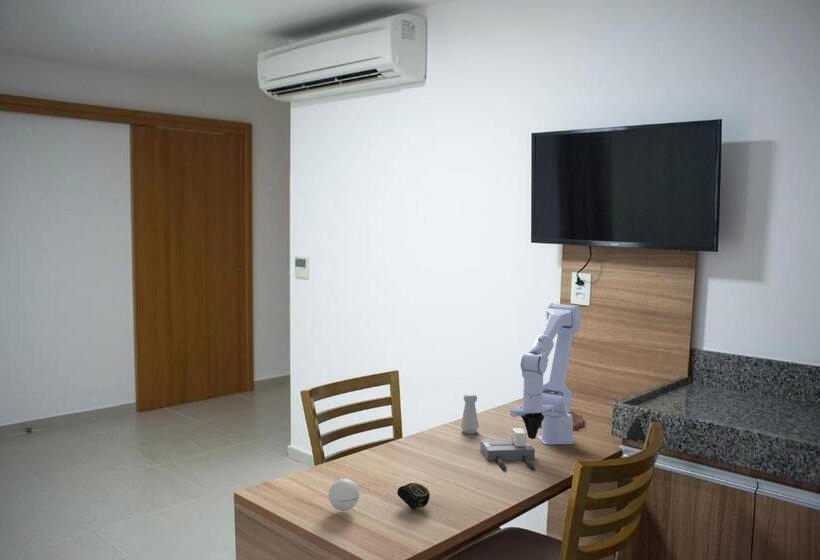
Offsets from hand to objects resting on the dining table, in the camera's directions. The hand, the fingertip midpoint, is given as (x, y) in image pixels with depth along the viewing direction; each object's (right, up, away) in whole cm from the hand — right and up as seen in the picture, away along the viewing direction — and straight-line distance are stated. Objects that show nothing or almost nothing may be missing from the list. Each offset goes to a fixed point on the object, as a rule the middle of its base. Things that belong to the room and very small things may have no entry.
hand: (531, 437), depth 202 cm
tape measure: (-39, -7, -39) cm, 55 cm away
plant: (+14, -3, +35) cm, 38 cm away
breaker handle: (-4, -2, 0) cm, 4 cm away
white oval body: (-51, -8, -42) cm, 66 cm away
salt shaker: (-17, -3, +21) cm, 27 cm away
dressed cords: (-7, -6, -9) cm, 13 cm away
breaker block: (-7, -5, 0) cm, 9 cm away
